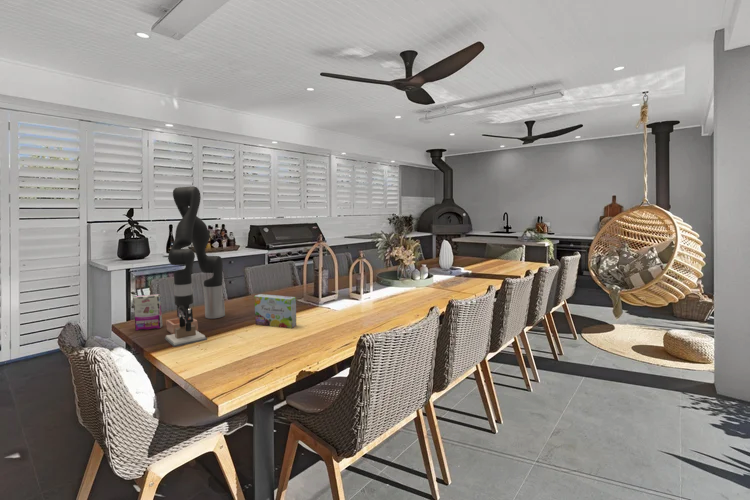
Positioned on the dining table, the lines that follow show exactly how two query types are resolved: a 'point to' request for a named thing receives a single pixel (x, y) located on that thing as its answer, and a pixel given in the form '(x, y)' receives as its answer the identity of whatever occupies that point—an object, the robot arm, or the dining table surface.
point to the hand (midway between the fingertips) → (185, 328)
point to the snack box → (275, 310)
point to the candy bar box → (147, 312)
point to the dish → (178, 324)
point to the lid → (185, 335)
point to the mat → (184, 343)
